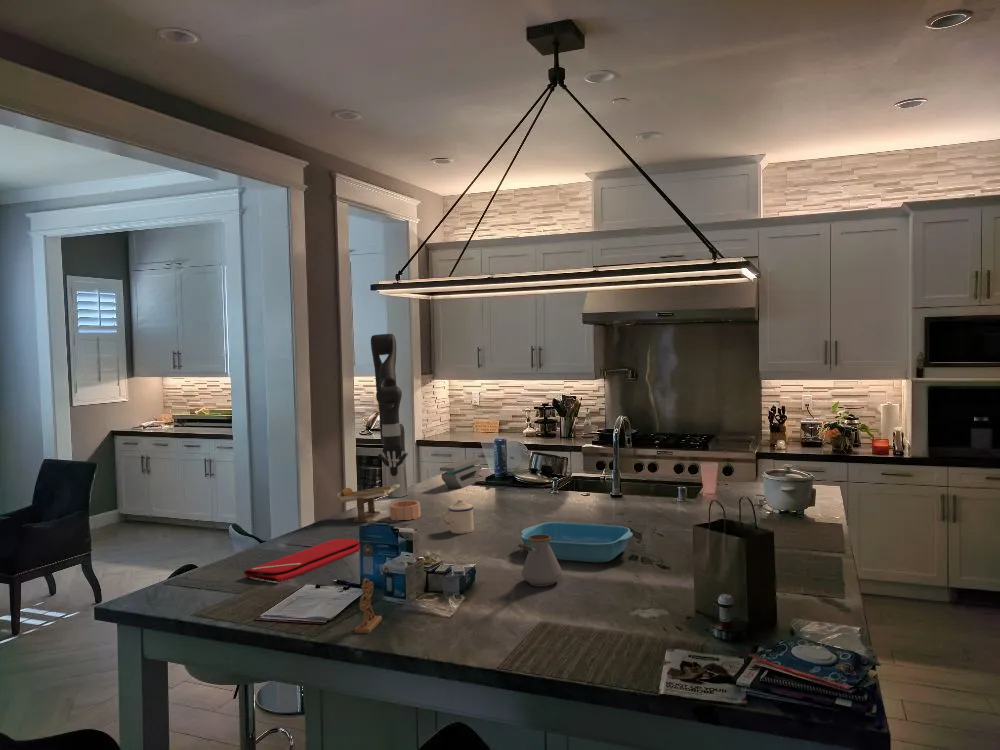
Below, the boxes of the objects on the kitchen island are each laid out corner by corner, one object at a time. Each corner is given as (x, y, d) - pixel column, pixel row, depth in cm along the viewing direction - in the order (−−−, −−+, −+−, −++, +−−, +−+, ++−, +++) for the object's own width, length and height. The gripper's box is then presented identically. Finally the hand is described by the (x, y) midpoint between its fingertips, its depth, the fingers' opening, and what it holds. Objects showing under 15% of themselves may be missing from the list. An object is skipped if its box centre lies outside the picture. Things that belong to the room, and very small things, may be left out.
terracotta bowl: (396, 514, 306) (395, 500, 306) (424, 513, 304) (423, 500, 303) (386, 521, 294) (385, 507, 294) (415, 521, 292) (414, 507, 292)
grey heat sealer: (467, 480, 371) (466, 458, 370) (481, 480, 367) (479, 458, 367) (441, 490, 349) (439, 467, 348) (455, 491, 345) (454, 468, 345)
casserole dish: (509, 558, 236) (508, 536, 236) (539, 539, 256) (537, 519, 255) (620, 569, 219) (619, 545, 218) (643, 548, 238) (642, 526, 238)
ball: (348, 498, 305) (343, 490, 306) (356, 493, 305) (350, 485, 305) (344, 500, 302) (339, 492, 302) (352, 495, 301) (347, 487, 301)
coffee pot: (530, 574, 219) (527, 523, 218) (568, 576, 214) (565, 525, 213) (501, 599, 199) (498, 543, 198) (541, 602, 194) (538, 546, 194)
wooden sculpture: (369, 633, 181) (365, 584, 180) (354, 632, 182) (350, 584, 181) (382, 619, 190) (379, 573, 189) (368, 619, 191) (364, 573, 190)
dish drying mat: (368, 548, 258) (367, 538, 258) (279, 586, 223) (278, 574, 223) (334, 544, 266) (333, 534, 266) (243, 580, 231) (242, 568, 231)
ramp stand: (366, 513, 310) (364, 491, 309) (379, 513, 309) (378, 491, 308) (353, 522, 296) (351, 498, 296) (367, 522, 295) (365, 498, 294)
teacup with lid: (476, 527, 277) (474, 496, 276) (472, 533, 268) (470, 502, 267) (445, 528, 278) (443, 497, 278) (439, 534, 269) (437, 502, 269)
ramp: (356, 493, 318) (354, 484, 317) (399, 486, 313) (398, 476, 313) (339, 503, 300) (337, 493, 300) (385, 495, 296) (382, 485, 296)
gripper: (409, 432, 312) (412, 473, 313) (379, 433, 315) (382, 474, 315) (403, 435, 305) (406, 477, 305) (373, 436, 307) (376, 477, 308)
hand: (394, 475), depth 310 cm, fingers closed
